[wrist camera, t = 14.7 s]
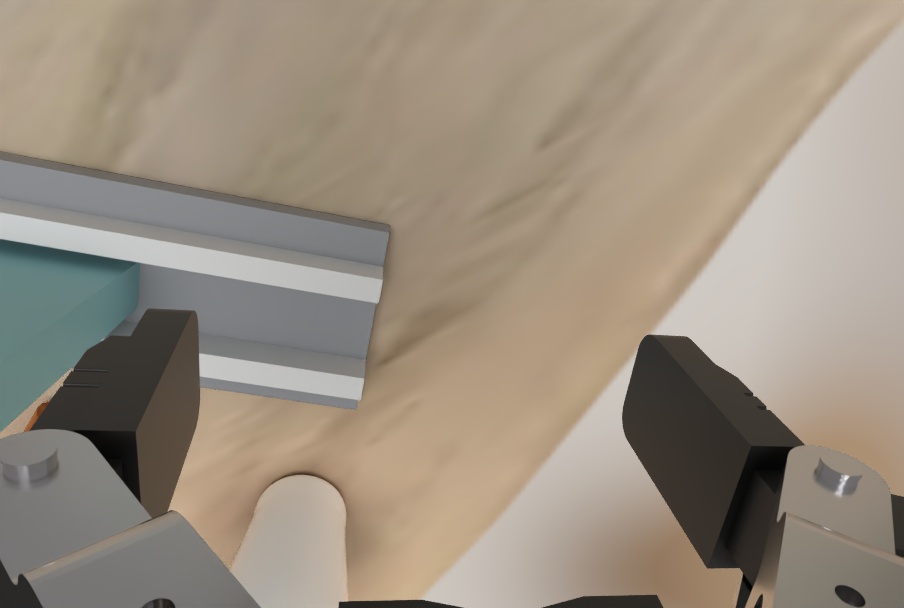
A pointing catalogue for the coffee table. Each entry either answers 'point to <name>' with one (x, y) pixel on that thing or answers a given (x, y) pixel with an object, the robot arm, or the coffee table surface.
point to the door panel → (54, 315)
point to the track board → (220, 272)
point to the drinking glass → (295, 546)
